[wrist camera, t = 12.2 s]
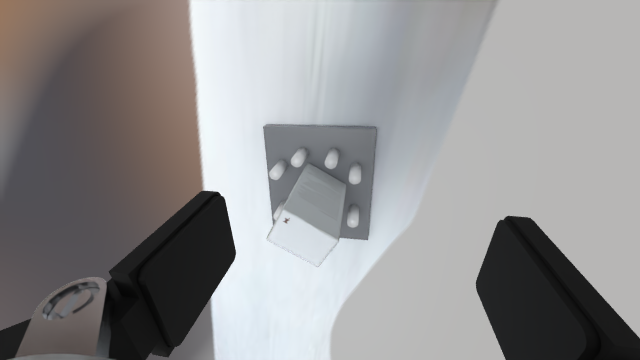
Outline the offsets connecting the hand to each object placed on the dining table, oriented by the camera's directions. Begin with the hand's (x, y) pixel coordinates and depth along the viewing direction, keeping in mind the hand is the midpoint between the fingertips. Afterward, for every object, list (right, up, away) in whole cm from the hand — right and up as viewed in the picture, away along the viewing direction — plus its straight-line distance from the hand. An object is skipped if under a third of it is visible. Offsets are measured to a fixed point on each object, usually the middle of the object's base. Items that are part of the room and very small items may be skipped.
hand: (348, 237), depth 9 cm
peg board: (-1, +2, +27) cm, 27 cm away
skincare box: (-1, +1, +26) cm, 26 cm away
